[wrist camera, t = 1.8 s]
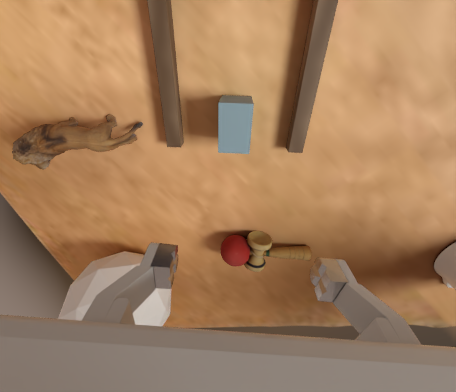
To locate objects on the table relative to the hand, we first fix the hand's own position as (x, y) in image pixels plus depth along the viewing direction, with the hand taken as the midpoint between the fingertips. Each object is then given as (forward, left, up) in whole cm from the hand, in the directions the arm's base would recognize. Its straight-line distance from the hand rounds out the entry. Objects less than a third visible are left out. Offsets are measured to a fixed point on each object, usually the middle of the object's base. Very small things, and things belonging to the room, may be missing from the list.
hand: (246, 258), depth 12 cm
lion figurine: (+23, 0, -24) cm, 33 cm away
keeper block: (+1, -3, -23) cm, 24 cm away
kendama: (-6, +22, -24) cm, 33 cm away
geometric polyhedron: (+22, +31, -24) cm, 45 cm away
